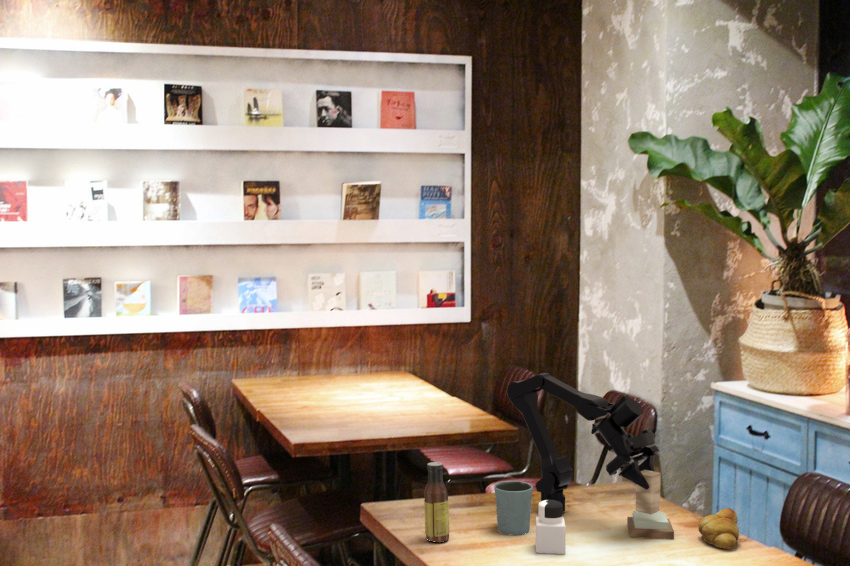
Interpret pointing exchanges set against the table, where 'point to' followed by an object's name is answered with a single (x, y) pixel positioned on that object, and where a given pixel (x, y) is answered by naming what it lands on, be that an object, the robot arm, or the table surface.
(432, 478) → the sauce bottle
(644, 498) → the oak block
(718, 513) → the bread roll
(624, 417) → the robot arm
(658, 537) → the walnut base slab
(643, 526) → the sage slab
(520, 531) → the teal cup
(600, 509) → the table surface
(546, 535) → the medicine bottle
